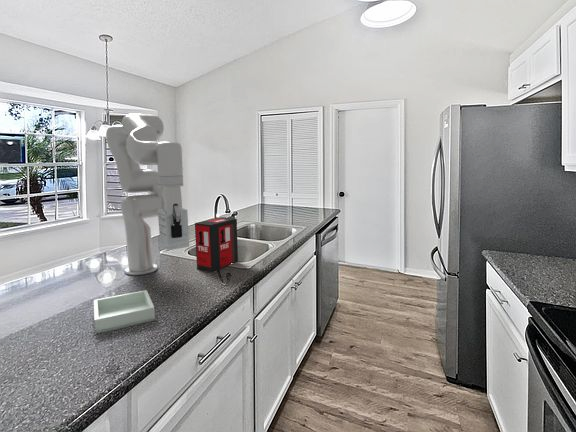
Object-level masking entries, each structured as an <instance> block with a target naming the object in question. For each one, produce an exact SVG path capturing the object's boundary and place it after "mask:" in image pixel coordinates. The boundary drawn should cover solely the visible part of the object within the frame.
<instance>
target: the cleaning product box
mask: <svg viewBox="0 0 576 432" xmlns="http://www.w3.org/2000/svg"><path fill="white" fill-rule="evenodd" d="M194 231H195V232H194V235H195V253H196V254H195V255H196V270H200V271H205V272H208V273H209V272H210V273H216V272H217V271H219V270H222V269H224V268H227V267H230V266H231V265H230V264H231V263H234V264H237V263H238V262H239V255H238V254H239V252H238V251H239V249H238V219H237V218H233V217H225V216H221V217H216V218H212V219H207V220H202V221H198V222H194ZM229 265H230V266H229Z"/></svg>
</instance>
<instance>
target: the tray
mask: <svg viewBox="0 0 576 432" xmlns="http://www.w3.org/2000/svg"><path fill="white" fill-rule="evenodd" d="M93 309H94V310H93V318H94V319H93V320H94V327H95V328H94V329H95V334H96V333H98V334H101V332H102V333H106V332H110V331H115V330H119V329H123V328H127V327H132V326H136V325H141V324H144V323H150V322H153V321H156V314H155V313H156V312H155V305H154V303H153V301H152V299H151V296H150V294H149V293H148V290H147V289H145V290H139V291H134V292H127V293H121V294H117V295H113V296H112V295H111V296H106V297H102V298H96V299H93Z"/></svg>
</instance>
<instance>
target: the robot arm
mask: <svg viewBox="0 0 576 432" xmlns="http://www.w3.org/2000/svg"><path fill="white" fill-rule="evenodd" d="M164 129H165V128H164V122H163V120H162V119H161V118H160V116H158V115H154V114H147V113H136V112H134V113H128V114H126V115H124V116H123V118H122V120H121V124H115V125H111V126H109V127H107V129H106V135H105V138H106V144H107V146H108V149H109V151H110V153H111V155H112V157H113V159H114V161H115V164H116V169H117V174H118V179H119V184H120V188H121V189H122V191H123V192H124V193H127V194H133V195H129V196H125V197H124V198H123V199H122V200H121V201H120V211H121V215H122V217H123V222H124V223H123V224H124V229H125V240H126V241H125V242H126V252H127V253H126V254H127V264H128V266H127V267H125V269H124V273H125V274H127V275H130V276H139V275H147V274H151V273H153V272H155V271H157V270H158V265H157V264H155V263H154V257H153V255H154V254H153V244H152V243H153V242H152V231H151V230H152V229H151V227H150V225H149V224H148V223H147V222H146V221H145V220H144V219H147V218H156V217H157V218H158V209H163V210H164V211H165V212H166V217H167V218H169V217H171V223H172V226H171V237H172V238H179V237H182V225H181V218H180V217H181V216H182V208H183V202H182V201H183V199H182V198H183V197H182V190H181V187H183V186H184V170H183V169H184V168H183V149H182V144H181V143H179V142H177V141H159V139H160V138H161V137H163V133H164ZM153 165H154V166H157V170H155V169H142V168H141V166H153ZM141 193H149V194H141ZM134 194H135V195H134ZM137 194H138V195H137ZM173 209H174V210H173ZM173 211H174V212H175V216H172V213H173ZM180 213H181V215H180ZM173 218H174V220H173Z"/></svg>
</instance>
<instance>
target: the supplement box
mask: <svg viewBox="0 0 576 432" xmlns="http://www.w3.org/2000/svg"><path fill="white" fill-rule="evenodd" d="M173 210H174V209H173ZM180 215H181V213H180ZM172 216H175V212H174V211H173V213H172ZM180 218H181V225H182V237H179V238H172V237H171V226H172V223H171V217H169V218H167V217H166V212H165V211H164V210H163V209H158V216H157V219H158V232H159V234H158V235H159V246H160V247H162V248H163V249H165V250H166V251H171V250H172V251H173V250H178V249H183V248H189V247H190V238H189V237H190V235H189V217H188V209H186V208H183V207H182V216H181V217H180ZM173 220H174V218H173Z"/></svg>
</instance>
